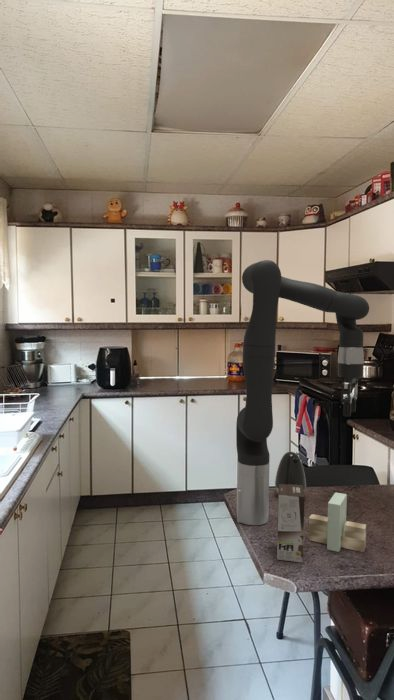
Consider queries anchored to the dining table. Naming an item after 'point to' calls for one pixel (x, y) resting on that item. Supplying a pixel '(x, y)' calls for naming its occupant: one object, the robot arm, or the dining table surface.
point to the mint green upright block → (336, 521)
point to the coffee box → (290, 522)
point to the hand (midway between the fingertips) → (349, 414)
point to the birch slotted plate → (349, 539)
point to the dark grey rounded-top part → (290, 471)
